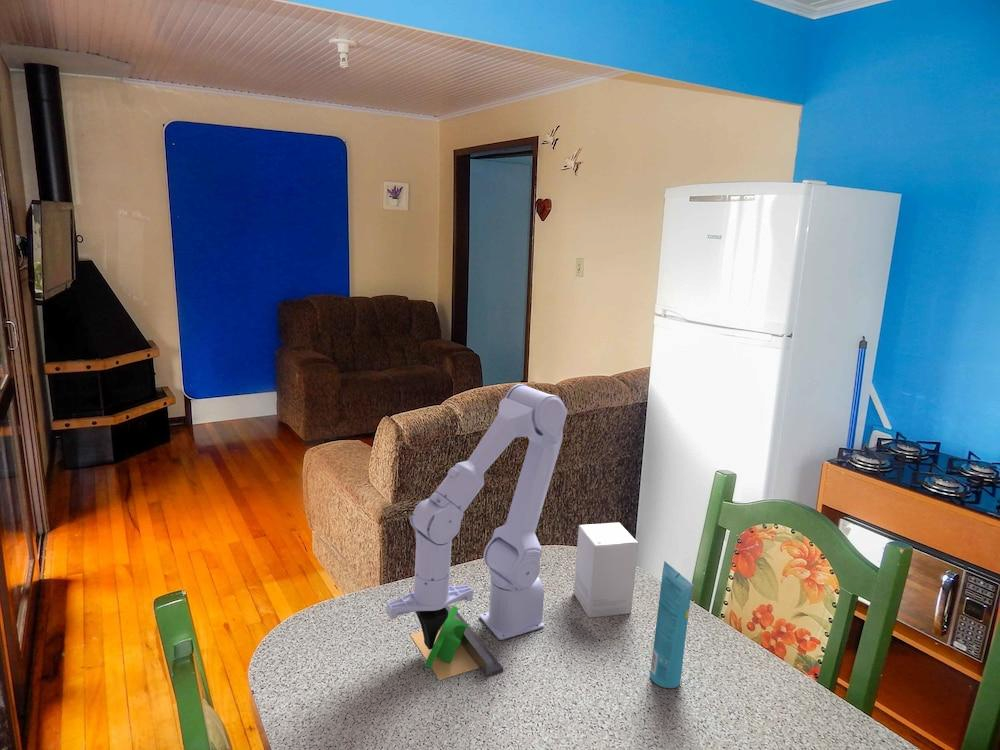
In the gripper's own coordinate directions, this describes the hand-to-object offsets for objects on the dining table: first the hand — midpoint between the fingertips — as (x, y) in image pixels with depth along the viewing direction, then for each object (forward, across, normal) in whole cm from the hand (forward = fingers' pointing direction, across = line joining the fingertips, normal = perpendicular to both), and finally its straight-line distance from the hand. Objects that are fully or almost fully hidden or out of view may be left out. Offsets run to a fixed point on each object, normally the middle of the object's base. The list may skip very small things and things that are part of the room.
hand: (428, 645), depth 109 cm
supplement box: (+1, -37, 0) cm, 37 cm away
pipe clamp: (+1, -2, 0) cm, 3 cm away
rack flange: (+2, -4, 0) cm, 5 cm away
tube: (+1, -33, +22) cm, 39 cm away
